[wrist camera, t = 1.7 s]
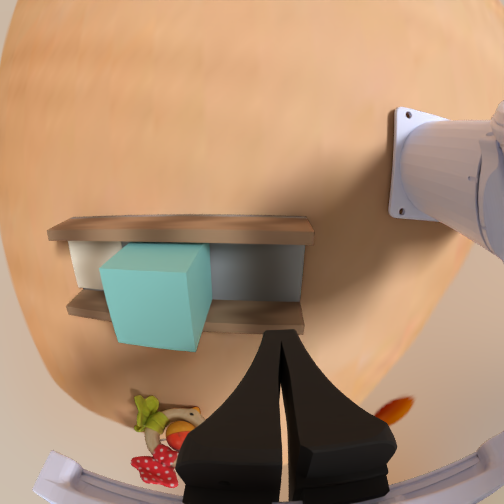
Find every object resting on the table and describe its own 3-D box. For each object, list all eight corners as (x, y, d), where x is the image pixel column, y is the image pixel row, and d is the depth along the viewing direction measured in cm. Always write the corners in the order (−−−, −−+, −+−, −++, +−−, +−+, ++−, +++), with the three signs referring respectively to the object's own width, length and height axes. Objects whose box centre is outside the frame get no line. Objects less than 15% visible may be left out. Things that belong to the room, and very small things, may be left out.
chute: (306, 216, 19) (314, 231, 16) (298, 307, 22) (303, 334, 18) (68, 217, 20) (42, 230, 16) (84, 293, 22) (64, 313, 19)
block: (208, 234, 19) (186, 272, 13) (212, 298, 21) (195, 352, 15) (140, 233, 19) (98, 268, 13) (150, 294, 21) (118, 342, 15)
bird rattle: (194, 377, 28) (116, 391, 25) (224, 461, 18) (123, 478, 15) (202, 409, 30) (133, 422, 27) (231, 483, 21) (147, 499, 18)
